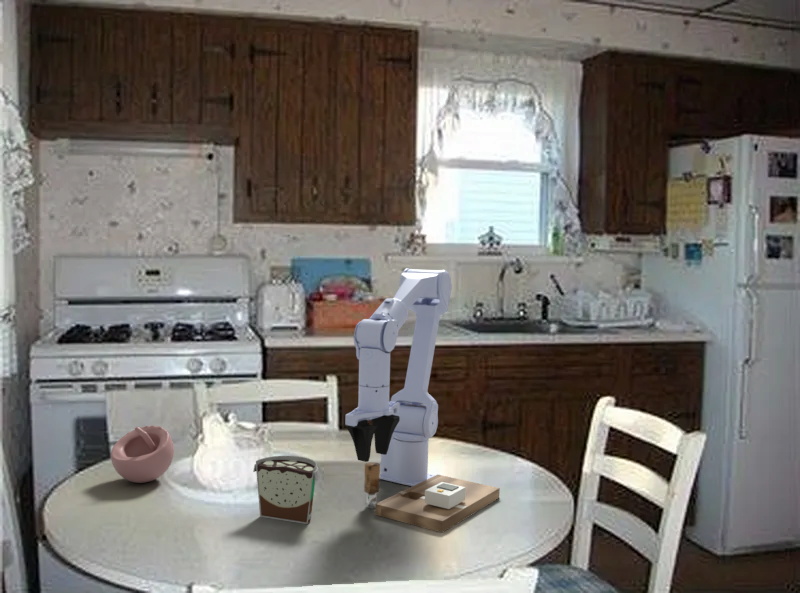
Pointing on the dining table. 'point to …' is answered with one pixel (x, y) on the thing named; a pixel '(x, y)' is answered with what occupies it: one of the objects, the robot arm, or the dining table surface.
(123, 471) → the mortar and pestle
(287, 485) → the food container
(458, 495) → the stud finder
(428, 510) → the board
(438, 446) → the dining table surface
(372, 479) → the brown translucent cylinder
